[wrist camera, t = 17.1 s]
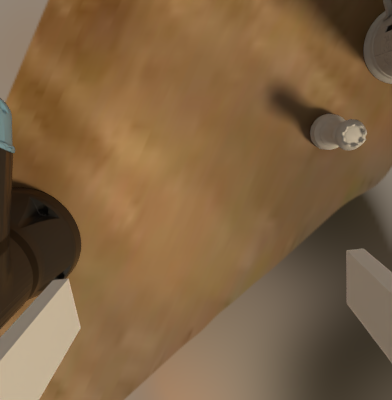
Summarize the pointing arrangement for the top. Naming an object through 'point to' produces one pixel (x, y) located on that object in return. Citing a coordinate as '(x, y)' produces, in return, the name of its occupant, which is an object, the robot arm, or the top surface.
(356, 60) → the top surface
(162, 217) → the top surface
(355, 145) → the rook chess piece
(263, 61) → the top surface
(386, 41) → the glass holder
